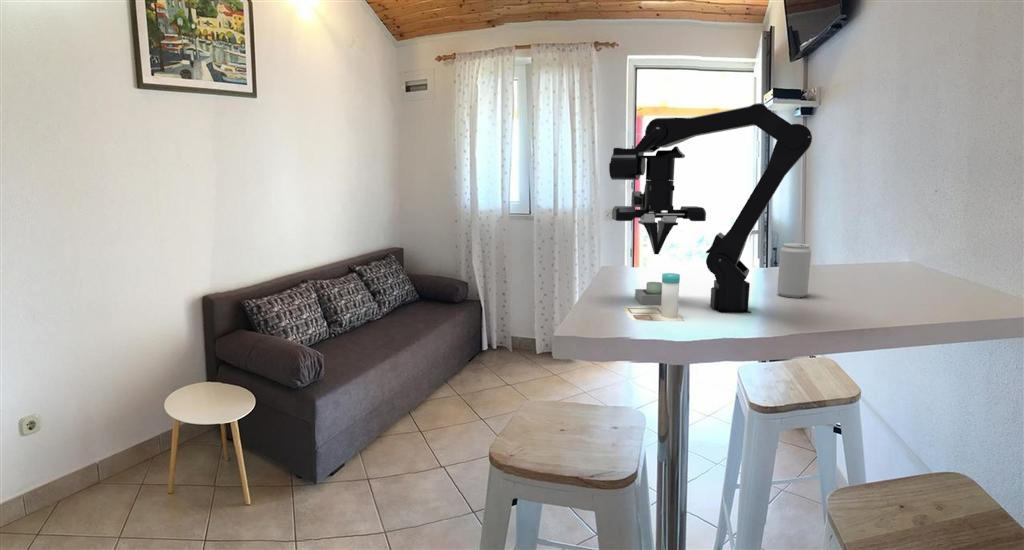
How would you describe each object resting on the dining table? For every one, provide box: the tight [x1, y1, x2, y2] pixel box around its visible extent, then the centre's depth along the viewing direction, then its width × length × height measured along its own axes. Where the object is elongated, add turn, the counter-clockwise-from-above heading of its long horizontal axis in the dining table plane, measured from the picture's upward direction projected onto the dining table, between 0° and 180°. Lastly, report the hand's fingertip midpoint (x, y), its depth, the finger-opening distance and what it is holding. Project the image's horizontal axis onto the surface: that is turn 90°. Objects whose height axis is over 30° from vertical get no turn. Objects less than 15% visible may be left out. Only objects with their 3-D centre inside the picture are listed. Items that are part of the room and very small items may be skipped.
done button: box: [645, 281, 662, 294], centre depth 130 cm, size 4×4×2 cm
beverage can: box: [776, 242, 812, 299], centre depth 138 cm, size 6×6×12 cm
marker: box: [660, 272, 681, 318], centre depth 117 cm, size 3×3×8 cm
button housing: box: [634, 288, 662, 306], centre depth 130 cm, size 7×7×2 cm
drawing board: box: [621, 305, 686, 322], centre depth 120 cm, size 12×14×1 cm
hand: (656, 254), depth 128 cm, fingers closed
